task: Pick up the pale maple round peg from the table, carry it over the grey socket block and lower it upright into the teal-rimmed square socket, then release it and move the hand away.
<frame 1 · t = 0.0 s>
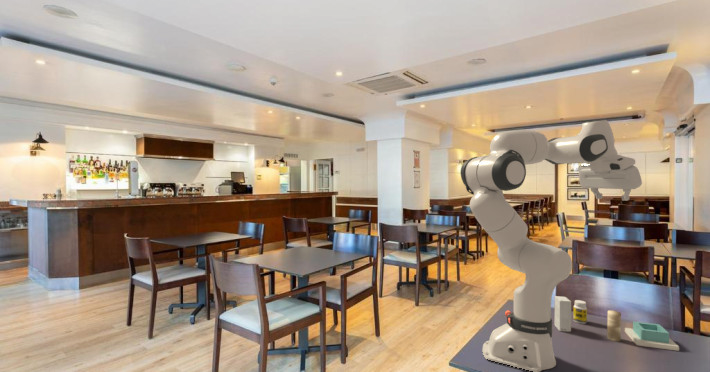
hand: (612, 199, 129), 52 cm above the table, tool tilted 20°, fingers open, 8 cm apart
maple peg: (613, 339, 132), on the table
supplement bottle: (580, 322, 148), on the table
skincare box: (562, 329, 141), on the table
socket block: (650, 340, 130), on the table
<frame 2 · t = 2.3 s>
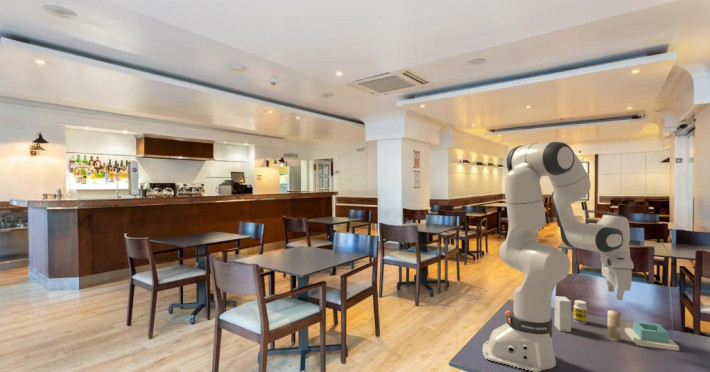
hand: (614, 295, 131), 16 cm above the table, tool pointing down, fingers open, 8 cm apart
nothing on the table moved.
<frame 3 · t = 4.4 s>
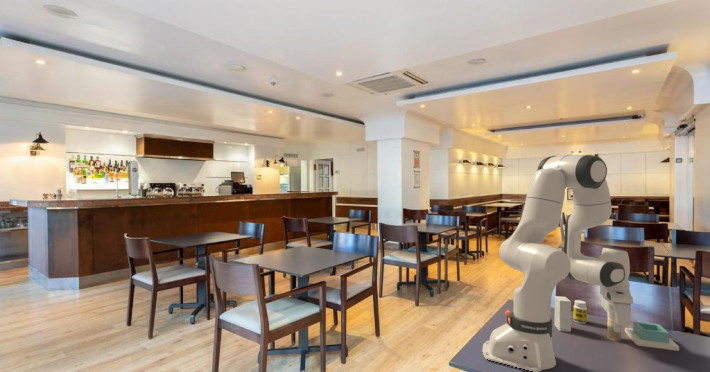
hand: (614, 328, 132), 4 cm above the table, tool pointing down, fingers closed on maple peg, 4 cm apart
maple peg: (613, 339, 132), on the table, touching gripper
everything else where it was.
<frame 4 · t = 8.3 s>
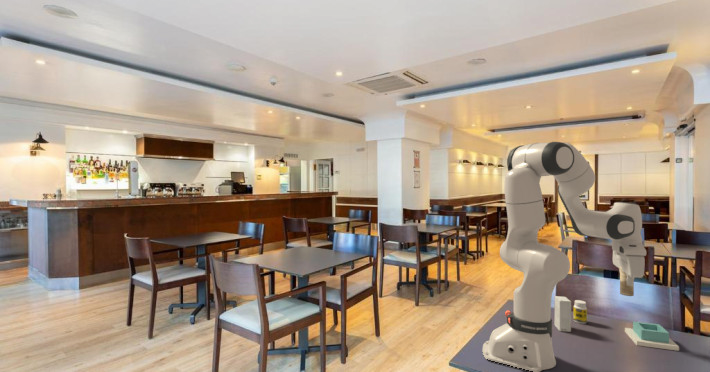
hand: (626, 283, 131), 21 cm above the table, tool pointing down, fingers closed on maple peg, 4 cm apart
maple peg: (626, 294, 131), point 17 cm above the table, touching gripper
everything else where it was.
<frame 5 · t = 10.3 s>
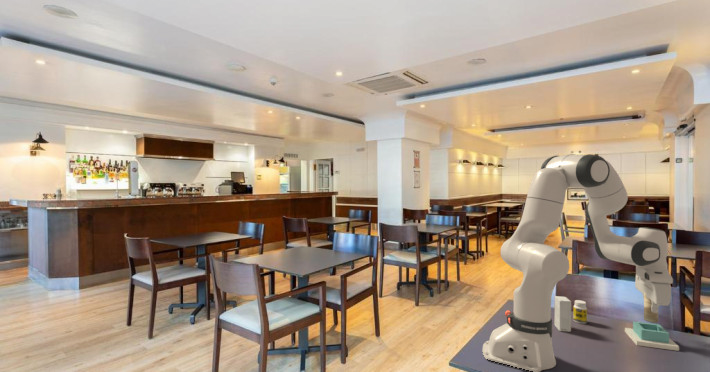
hand: (650, 309, 130), 12 cm above the table, tool pointing down, fingers closed on maple peg, 4 cm apart
maple peg: (650, 320, 130), point 7 cm above the table, touching gripper
everything else where it was.
when the fingers open (7 cm above the table, at t = 12.0 s): maple peg drops 1 cm, resting on socket block.
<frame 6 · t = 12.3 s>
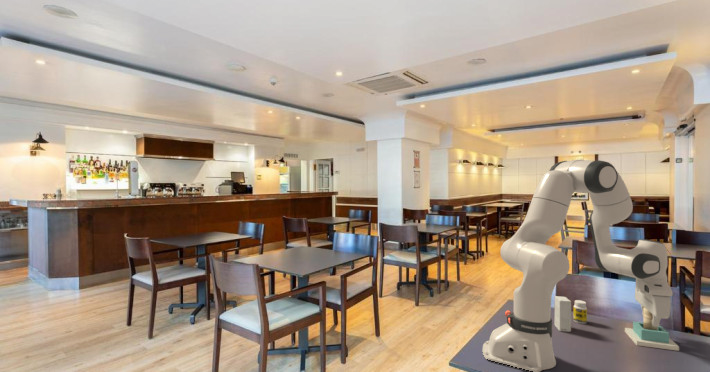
hand: (650, 321, 130), 7 cm above the table, tool pointing down, fingers open, 7 cm apart
maple peg: (650, 336, 130), point 2 cm above the table, touching socket block
everything else where it was.
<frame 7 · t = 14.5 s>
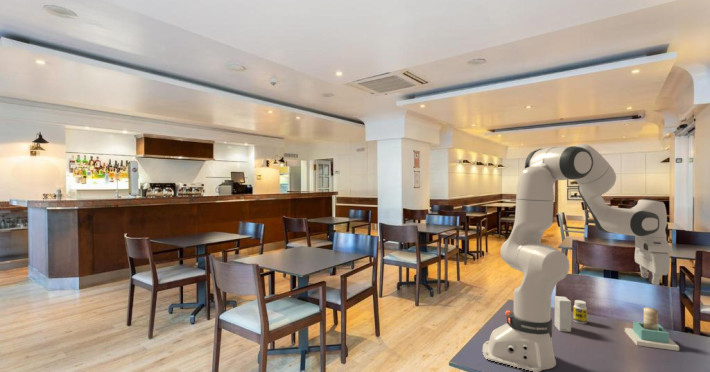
hand: (649, 280, 130), 22 cm above the table, tool pointing down, fingers open, 8 cm apart
nothing on the table moved.
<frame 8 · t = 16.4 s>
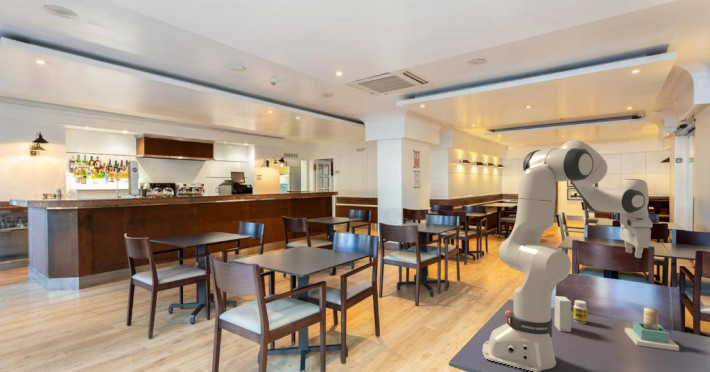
hand: (633, 255, 140), 29 cm above the table, tool pointing down, fingers open, 8 cm apart
nothing on the table moved.
at the end: maple peg 0.0 cm off-centre on the socket block, point 1.5 cm above the socket block's base; maple peg tilted 0°; the gripper is holding nothing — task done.
